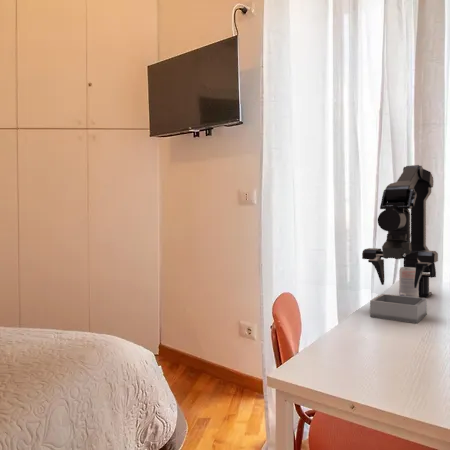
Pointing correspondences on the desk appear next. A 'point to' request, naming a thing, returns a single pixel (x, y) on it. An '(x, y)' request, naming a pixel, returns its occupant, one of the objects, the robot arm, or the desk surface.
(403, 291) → the energy drink
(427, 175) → the robot arm
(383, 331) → the desk surface
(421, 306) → the crate
